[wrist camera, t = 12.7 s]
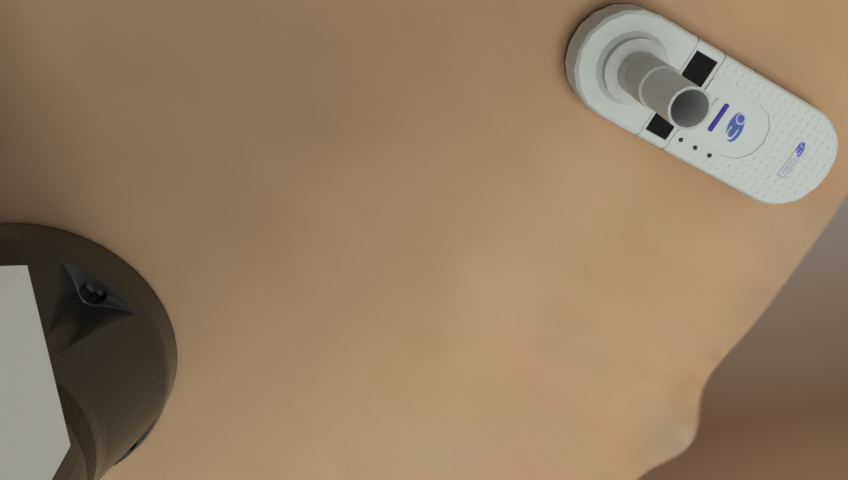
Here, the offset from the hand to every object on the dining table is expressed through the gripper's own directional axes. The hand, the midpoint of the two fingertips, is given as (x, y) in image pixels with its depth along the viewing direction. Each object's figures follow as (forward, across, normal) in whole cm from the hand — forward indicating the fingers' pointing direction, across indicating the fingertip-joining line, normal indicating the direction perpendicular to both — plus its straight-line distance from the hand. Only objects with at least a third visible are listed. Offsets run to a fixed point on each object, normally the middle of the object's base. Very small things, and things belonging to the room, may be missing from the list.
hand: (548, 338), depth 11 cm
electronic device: (+31, +14, -5) cm, 34 cm away
